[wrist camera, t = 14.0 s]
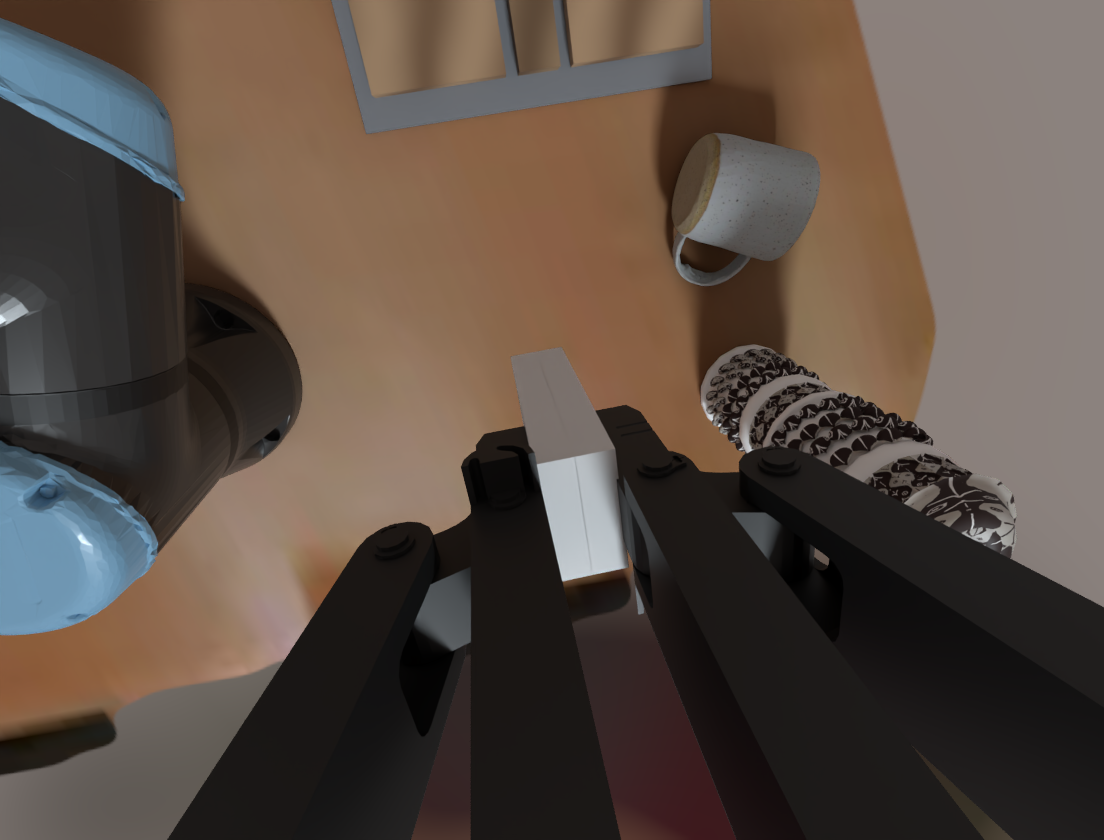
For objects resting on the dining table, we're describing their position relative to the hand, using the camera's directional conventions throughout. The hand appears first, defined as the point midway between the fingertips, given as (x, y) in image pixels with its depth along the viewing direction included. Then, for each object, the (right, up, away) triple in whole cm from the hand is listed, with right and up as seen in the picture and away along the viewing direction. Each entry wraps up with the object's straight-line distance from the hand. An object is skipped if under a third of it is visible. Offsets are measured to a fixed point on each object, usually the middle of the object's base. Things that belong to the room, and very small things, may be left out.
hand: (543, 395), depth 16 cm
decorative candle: (+18, +2, +34) cm, 39 cm away
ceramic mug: (+13, +16, +28) cm, 35 cm away
